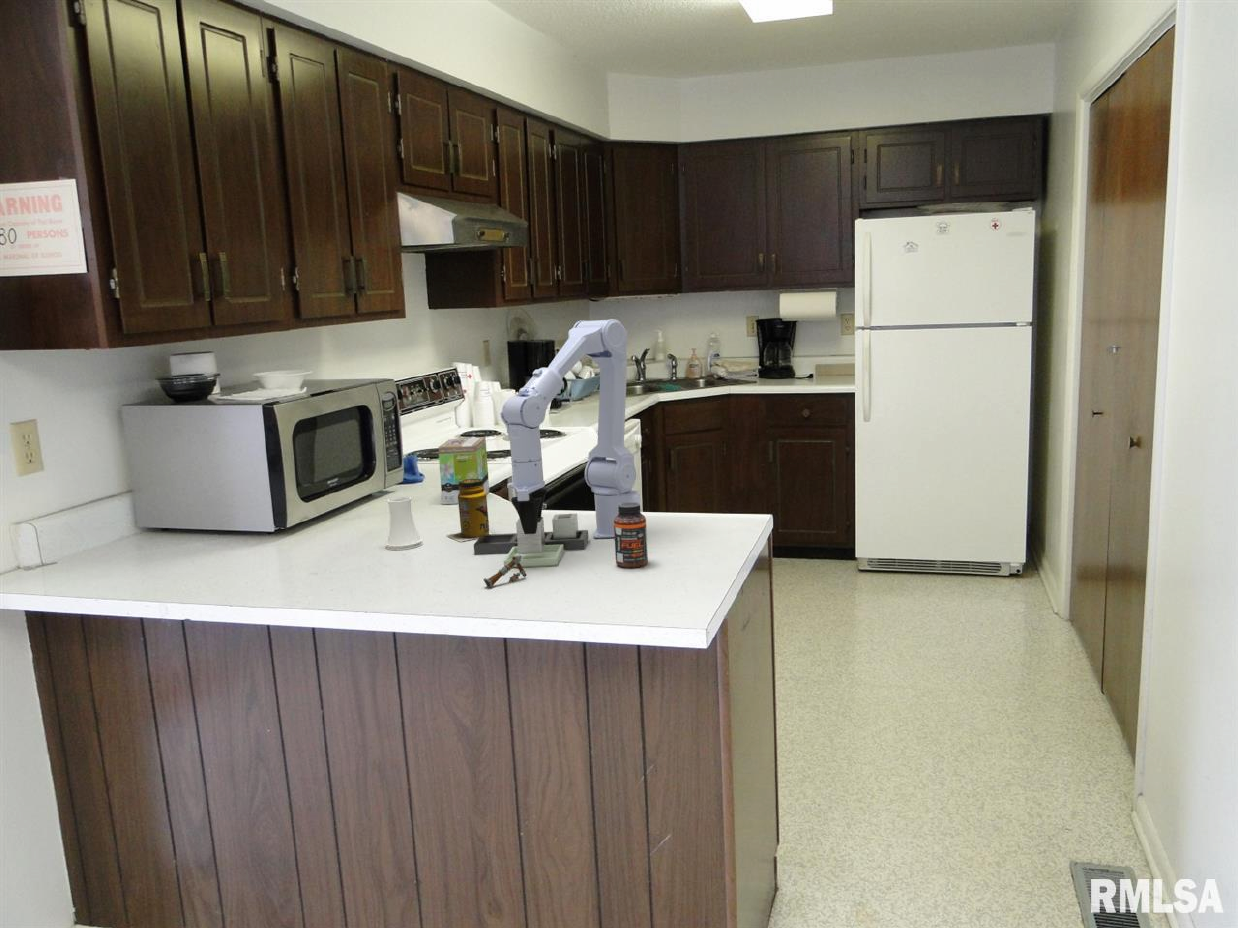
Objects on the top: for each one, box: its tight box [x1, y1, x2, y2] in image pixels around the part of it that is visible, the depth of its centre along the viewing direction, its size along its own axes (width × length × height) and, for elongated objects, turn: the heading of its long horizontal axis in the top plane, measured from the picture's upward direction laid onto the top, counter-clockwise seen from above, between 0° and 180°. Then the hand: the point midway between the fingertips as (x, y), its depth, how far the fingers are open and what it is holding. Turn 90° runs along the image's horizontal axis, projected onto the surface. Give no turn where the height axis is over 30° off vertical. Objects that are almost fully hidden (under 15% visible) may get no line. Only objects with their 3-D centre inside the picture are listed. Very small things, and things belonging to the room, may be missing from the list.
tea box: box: [438, 436, 490, 505], centre depth 252 cm, size 15×10×15 cm
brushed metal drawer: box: [551, 513, 579, 540], centre depth 198 cm, size 4×4×6 cm
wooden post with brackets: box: [483, 555, 528, 589], centre depth 175 cm, size 2×8×4 cm, turn 128°
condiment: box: [446, 479, 496, 543], centre depth 211 cm, size 7×8×12 cm
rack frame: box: [473, 529, 589, 555], centre depth 199 cm, size 22×8×2 cm, turn 86°
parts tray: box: [503, 545, 565, 569], centre depth 189 cm, size 10×10×2 cm
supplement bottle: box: [614, 502, 649, 569], centre depth 181 cm, size 6×6×11 cm
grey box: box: [515, 516, 545, 554], centre depth 188 cm, size 4×4×6 cm
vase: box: [384, 496, 423, 551], centre depth 206 cm, size 8×8×10 cm
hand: (532, 530), depth 188 cm, fingers closed on grey box, 4 cm apart
